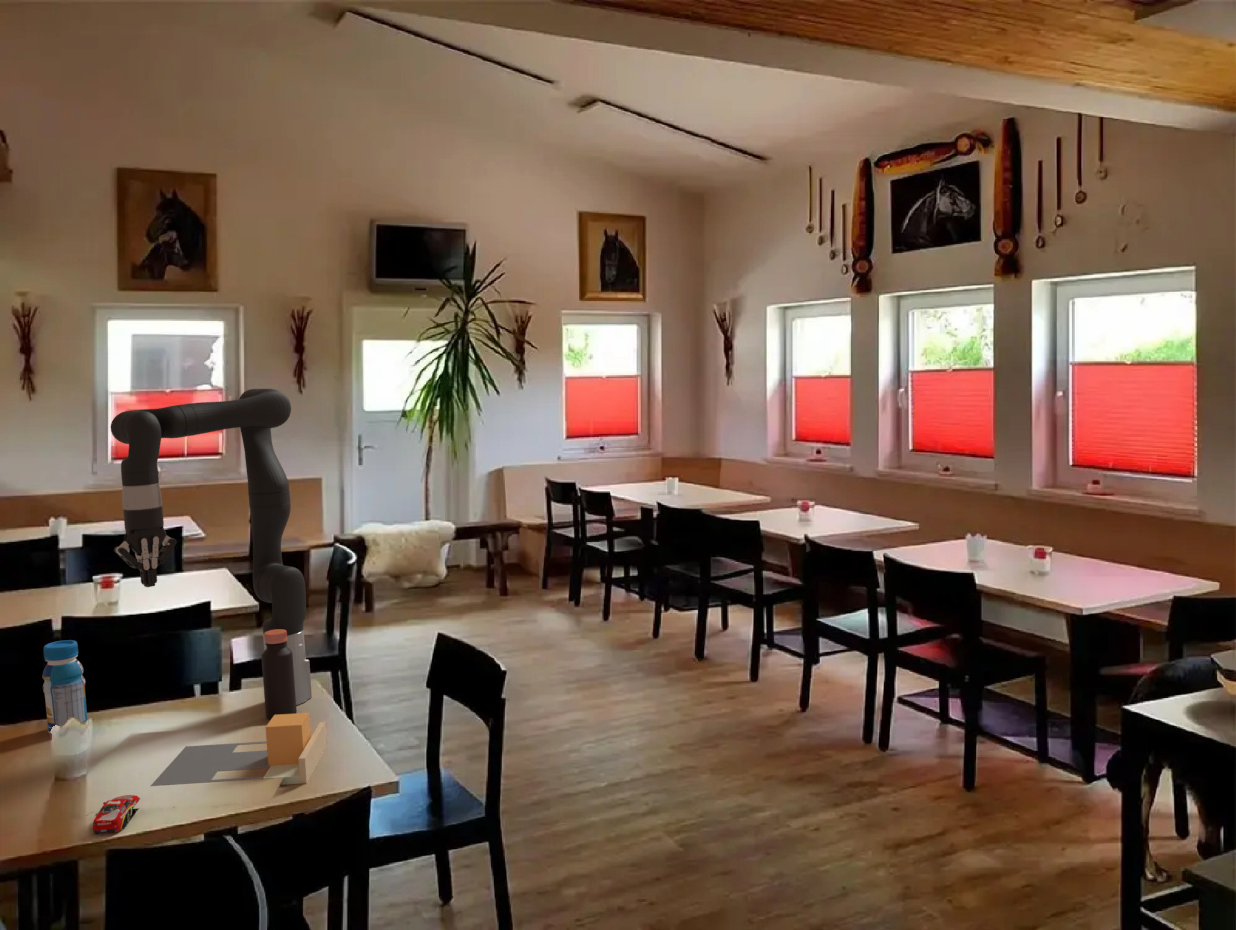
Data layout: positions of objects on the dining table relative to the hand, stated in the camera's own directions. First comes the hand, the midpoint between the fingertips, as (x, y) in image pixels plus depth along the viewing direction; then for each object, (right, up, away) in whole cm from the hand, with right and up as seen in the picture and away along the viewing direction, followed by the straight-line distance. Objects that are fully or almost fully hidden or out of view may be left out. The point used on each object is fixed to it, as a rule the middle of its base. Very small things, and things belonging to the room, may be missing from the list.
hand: (149, 586), depth 217 cm
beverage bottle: (-26, -35, +15) cm, 46 cm away
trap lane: (+23, -36, -10) cm, 44 cm away
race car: (+9, -39, -32) cm, 51 cm away
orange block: (+33, -34, -10) cm, 48 cm away
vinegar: (+22, -33, +19) cm, 44 cm away
